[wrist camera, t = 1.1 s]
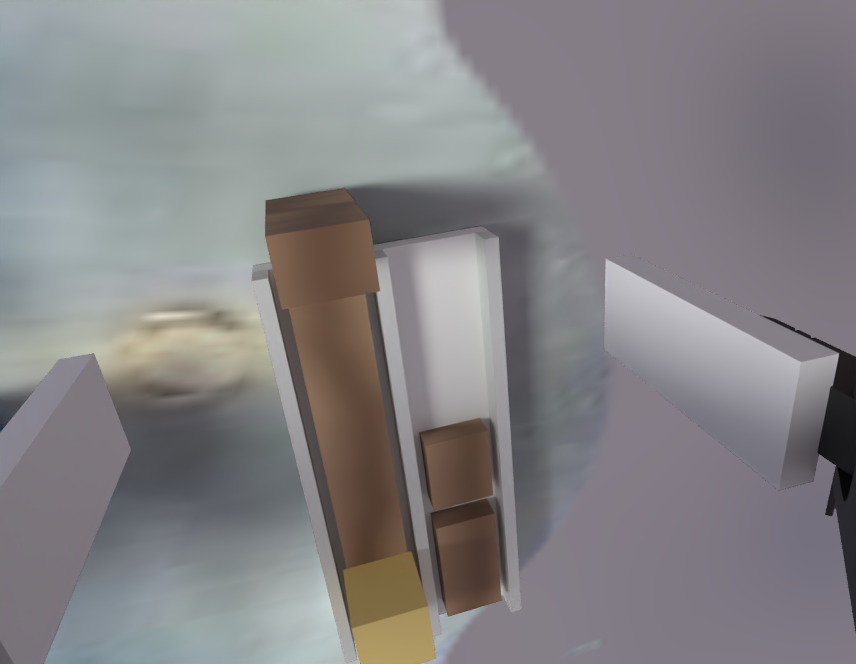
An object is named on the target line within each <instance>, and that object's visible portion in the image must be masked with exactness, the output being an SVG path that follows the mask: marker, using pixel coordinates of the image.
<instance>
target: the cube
mask: <svg viewBox="0 0 856 664" xmlns="http://www.w3.org/2000/svg"><path fill="white" fill-rule="evenodd" d="M343 575H344V581H345V587H346V594H347V600H348V606H349V613H350V619H351V625H352V631H353V635H354V639H355V644H356V648H357V652H358V657H359V661H360V664H420V663H423V662H427V661H430V660H433V659H436V653H435V647H434V640H433V634H432V627H431V620H430V614H429V607H428V603H427V600H426V597H425V594H424V591H423V587H422V584H421V581H420V578H419V575H418V571H417V568H416V565H415V562H414V558H413V555H412V552H411V551H410V552H406V553H403V554H399V555H395V556H392V557H388V558H385V559H381V560H377V561H374V562H370V563H366V564H363V565H359V566H356V567H352V568H348V569H345V570H343Z"/></svg>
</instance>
